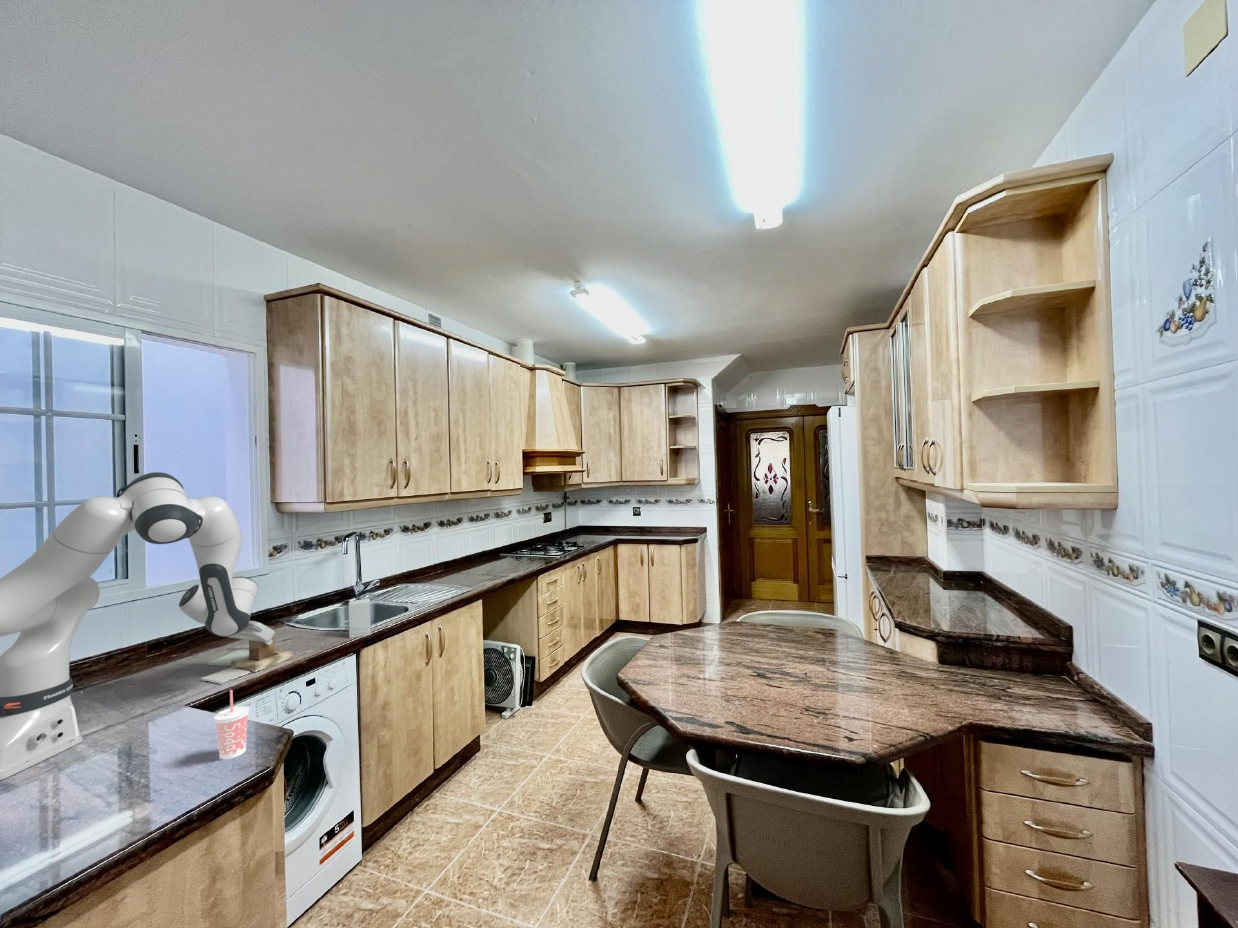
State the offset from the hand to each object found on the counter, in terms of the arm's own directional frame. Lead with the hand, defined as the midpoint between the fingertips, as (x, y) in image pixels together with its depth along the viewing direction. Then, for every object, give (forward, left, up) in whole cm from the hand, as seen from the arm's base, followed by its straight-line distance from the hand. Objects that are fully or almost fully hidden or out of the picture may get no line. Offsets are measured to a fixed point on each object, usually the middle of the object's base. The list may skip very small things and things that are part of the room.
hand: (263, 641), depth 162 cm
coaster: (+6, +12, -7) cm, 15 cm away
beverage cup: (-58, -26, -7) cm, 64 cm away
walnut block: (-1, 0, -6) cm, 6 cm away
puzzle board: (-5, +2, -7) cm, 9 cm away
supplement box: (+24, -21, -7) cm, 33 cm away
